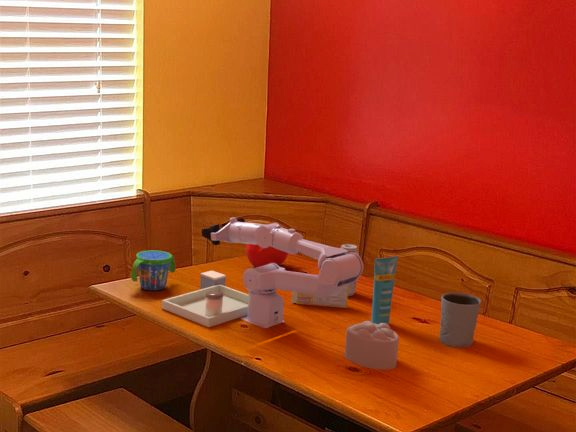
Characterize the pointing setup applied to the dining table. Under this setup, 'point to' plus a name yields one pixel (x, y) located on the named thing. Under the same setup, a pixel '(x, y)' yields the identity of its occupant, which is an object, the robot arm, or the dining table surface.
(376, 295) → the tube
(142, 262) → the snack cup
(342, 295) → the candy box
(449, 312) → the grey tapered cup
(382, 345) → the lumpy-topped squat cylinder
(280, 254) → the tomato
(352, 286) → the energy drink can
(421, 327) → the dining table surface
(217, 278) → the pale pink block
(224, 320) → the white square tray
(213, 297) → the jar
